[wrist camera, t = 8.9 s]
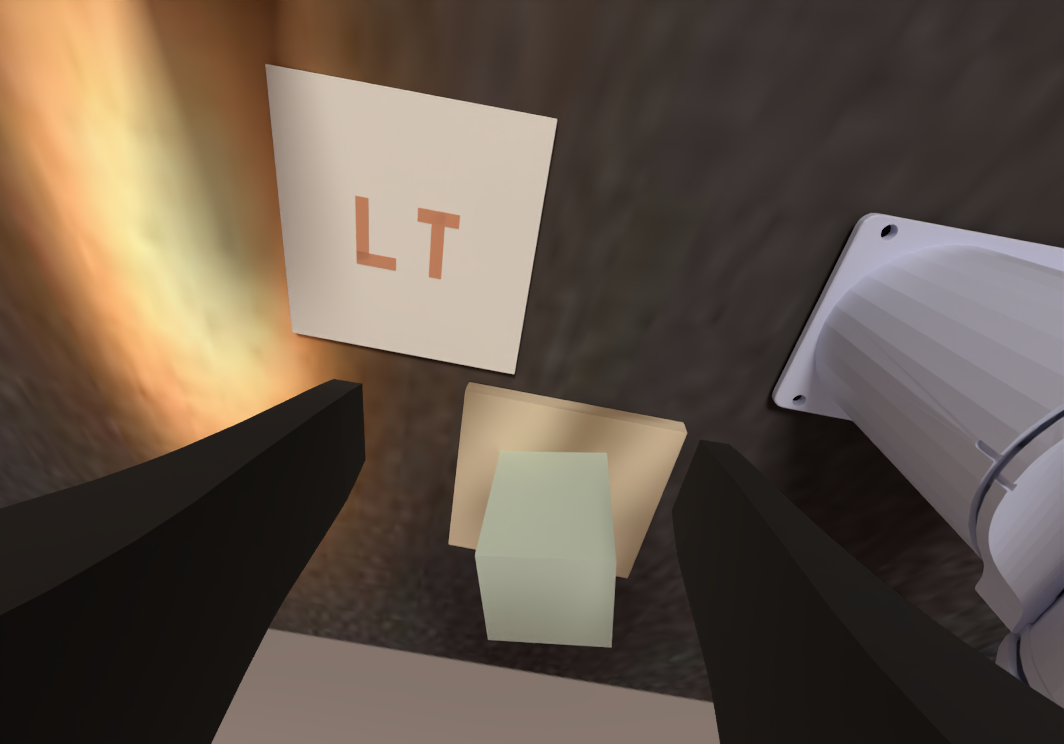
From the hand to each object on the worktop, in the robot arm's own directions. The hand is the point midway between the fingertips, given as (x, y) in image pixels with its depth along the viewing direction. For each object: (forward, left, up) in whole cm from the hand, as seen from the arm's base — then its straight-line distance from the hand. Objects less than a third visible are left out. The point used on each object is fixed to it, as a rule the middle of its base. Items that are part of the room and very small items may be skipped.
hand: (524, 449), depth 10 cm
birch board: (-2, +10, -10) cm, 14 cm away
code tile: (+6, -1, -10) cm, 12 cm away
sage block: (-2, +10, -9) cm, 13 cm away
